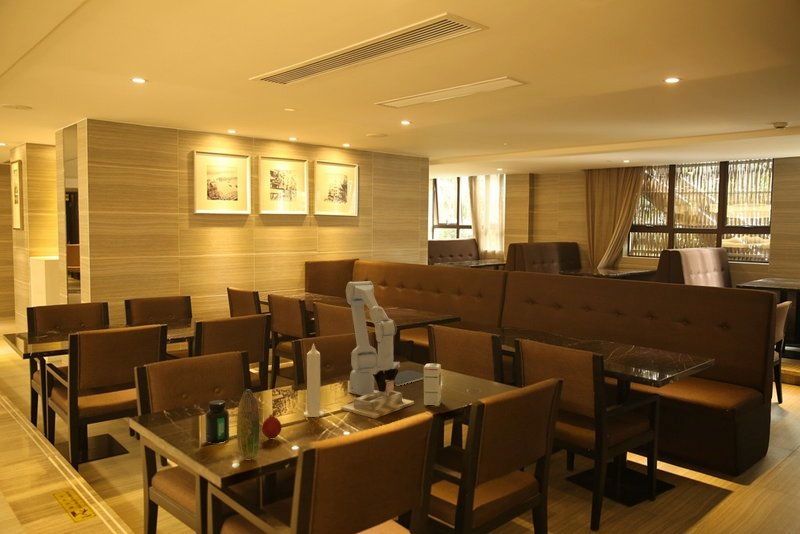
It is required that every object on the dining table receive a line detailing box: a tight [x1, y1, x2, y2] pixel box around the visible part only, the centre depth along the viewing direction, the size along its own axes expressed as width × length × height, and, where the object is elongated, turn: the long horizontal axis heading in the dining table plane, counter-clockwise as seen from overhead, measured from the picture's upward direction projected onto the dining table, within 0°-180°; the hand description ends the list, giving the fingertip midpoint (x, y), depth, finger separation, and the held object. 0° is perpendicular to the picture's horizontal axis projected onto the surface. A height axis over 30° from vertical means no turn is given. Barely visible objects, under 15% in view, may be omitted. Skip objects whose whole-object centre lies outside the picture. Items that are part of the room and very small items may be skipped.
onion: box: [261, 413, 282, 439], centre depth 183 cm, size 6×6×8 cm
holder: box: [340, 390, 415, 419], centre depth 217 cm, size 22×16×4 cm
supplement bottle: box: [204, 399, 230, 443], centre depth 182 cm, size 7×7×12 cm
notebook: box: [394, 369, 424, 387], centre depth 258 cm, size 13×2×21 cm
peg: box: [376, 379, 395, 399], centre depth 220 cm, size 5×5×8 cm
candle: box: [303, 343, 325, 418], centre depth 207 cm, size 7×7×25 cm
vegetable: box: [236, 388, 261, 460], centre depth 167 cm, size 6×6×20 cm
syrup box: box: [423, 363, 442, 407], centre depth 221 cm, size 6×6×14 cm
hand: (385, 390), depth 220 cm, fingers closed on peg, 4 cm apart
